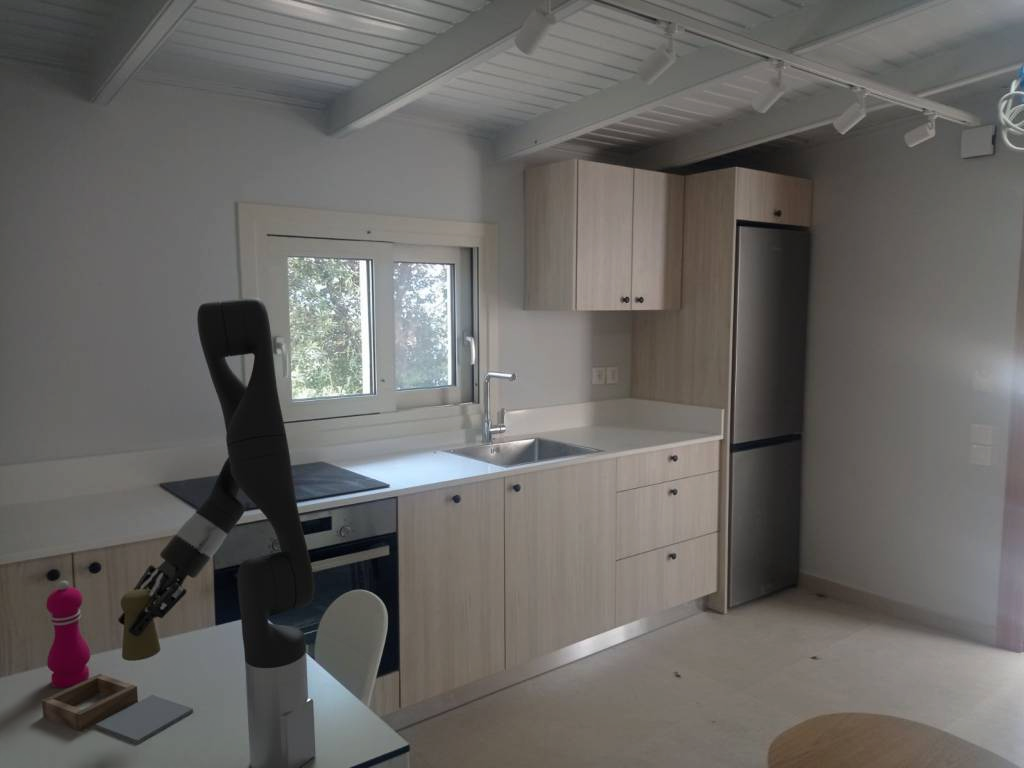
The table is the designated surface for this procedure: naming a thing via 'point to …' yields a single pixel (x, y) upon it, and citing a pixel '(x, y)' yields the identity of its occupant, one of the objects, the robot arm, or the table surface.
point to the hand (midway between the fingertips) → (127, 628)
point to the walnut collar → (78, 719)
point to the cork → (148, 639)
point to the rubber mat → (144, 718)
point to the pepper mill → (67, 638)
